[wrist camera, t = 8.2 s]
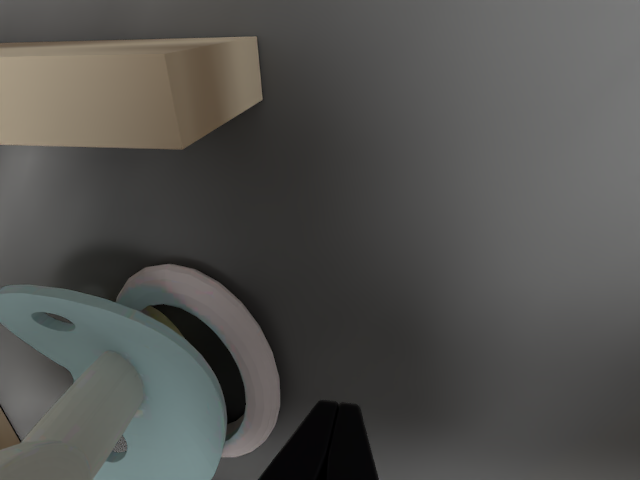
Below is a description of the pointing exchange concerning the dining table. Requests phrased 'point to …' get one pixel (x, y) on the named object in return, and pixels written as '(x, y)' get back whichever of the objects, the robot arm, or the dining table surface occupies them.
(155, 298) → the pacifier
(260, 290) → the dining table surface
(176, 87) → the box
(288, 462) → the robot arm
